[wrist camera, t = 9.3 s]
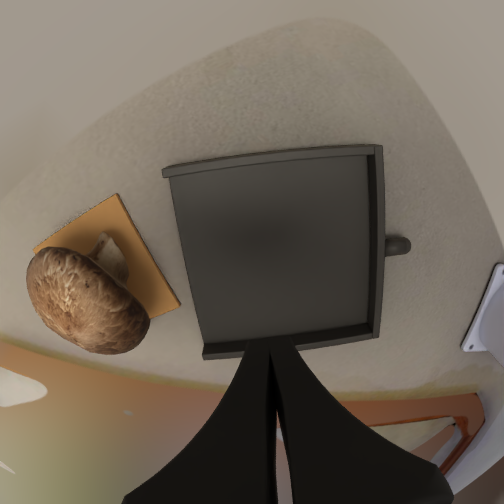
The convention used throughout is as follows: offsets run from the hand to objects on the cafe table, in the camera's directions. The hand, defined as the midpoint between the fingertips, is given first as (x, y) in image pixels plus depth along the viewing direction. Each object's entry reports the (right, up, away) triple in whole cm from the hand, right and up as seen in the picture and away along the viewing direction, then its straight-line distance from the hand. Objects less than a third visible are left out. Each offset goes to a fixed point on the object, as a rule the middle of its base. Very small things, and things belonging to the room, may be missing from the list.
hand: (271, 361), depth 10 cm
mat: (-10, +2, +9) cm, 14 cm away
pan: (+2, +4, +9) cm, 10 cm away
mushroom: (-10, +2, +9) cm, 14 cm away
